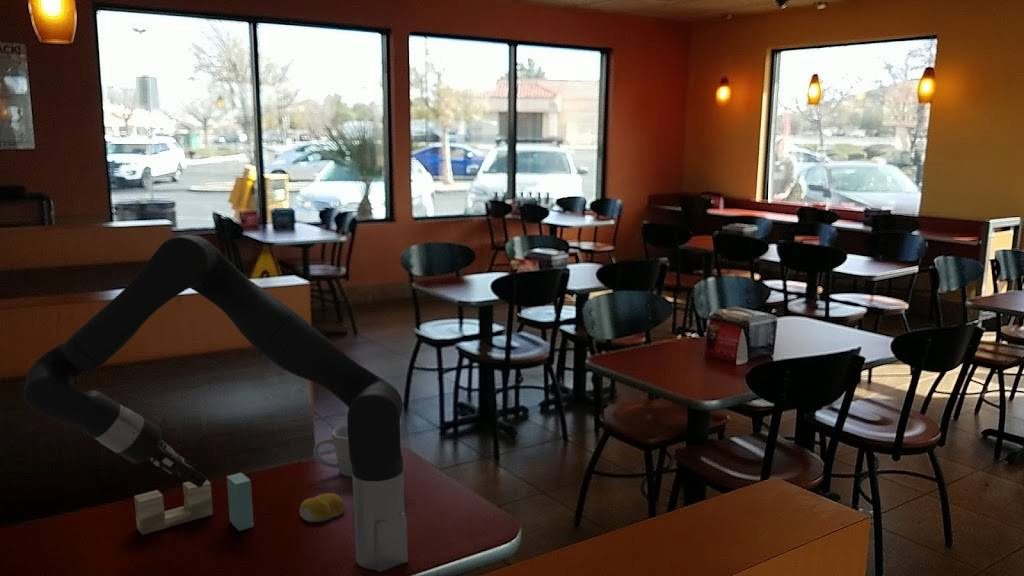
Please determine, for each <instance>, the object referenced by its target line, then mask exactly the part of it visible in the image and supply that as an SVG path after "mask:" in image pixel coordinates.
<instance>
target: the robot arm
mask: <svg viewBox="0 0 1024 576" xmlns="http://www.w3.org/2000/svg"><path fill="white" fill-rule="evenodd" d="M188 289H191V290H192V291H194V292H196V293H198V294H200V295H201V296H202V297H204V298H205V299H206V300H208V301H209V302H211V303H212V304H213V305H215V306H216V307H218V308H219V309H220V310H221V311H222V312H223V313H224V314H225V315H226V316H227V317H228V318H229V320H230V321H231V322H232V323H233V325H235V327H236V329H238V331H239V332H240V334H241V335H243V337H244V338H245V339H246V340H247V342H249V343H250V344H251V345H252V346H253V348H255V349H256V350H257V351H259V352H260V353H261V354H263V356H265V357H266V358H267V359H268V360H270V361H272V362H273V363H274V364H275V365H277V366H278V367H279V368H281V369H283V370H284V371H286V372H288V373H290V374H293V375H295V376H297V377H300V378H302V379H304V380H306V381H310V382H313V383H314V384H316V385H319V386H321V387H322V388H324V389H326V390H327V391H329V392H330V393H331V394H333V395H334V396H336V397H337V398H338V399H339V400H340V401H341V402H342V403H343V404H344V405H346V407H347V408H348V410H347V417H346V418H347V420H346V421H347V422H346V423H347V424H346V425H347V426H348V443H349V457H350V462H351V464H352V476H353V477H352V495H353V496H352V497H353V498H352V499H353V500H352V501H353V519H354V520H353V523H354V542H355V545H354V546H355V560H356V563H357V565H358V566H360V567H362V568H364V569H366V570H373V571H376V572H378V573H382V572H385V571H387V570H390V569H393V568H394V567H397V566H400V565H402V564H406V563H407V562H408V559H409V558H408V555H409V554H408V529H407V523H408V521H407V514H406V513H405V493H404V492H405V491H404V489H405V488H404V487H405V486H404V456H403V455H402V450H401V446H402V445H401V444H402V443H401V417H402V414H403V410H404V409H403V407H404V404H403V400H402V399H403V398H402V397H401V394H400V392H399V391H398V390H397V389H396V387H394V386H393V385H392V384H391V383H390V382H388V381H386V380H384V379H383V378H381V376H378V375H377V374H375V373H373V372H371V371H370V370H369V369H367V368H365V367H363V365H361V364H359V363H358V362H357V361H355V360H354V359H353V358H351V357H350V356H348V355H347V354H346V353H345V352H343V350H341V348H339V347H338V346H337V345H336V344H335V343H333V342H332V341H331V340H330V339H328V338H327V337H326V336H325V335H324V334H323V333H321V332H320V331H319V330H317V329H316V328H315V327H314V326H313V325H312V324H311V323H310V322H309V321H307V320H306V319H305V318H303V317H302V316H301V315H300V314H299V313H297V312H295V310H293V309H292V308H291V307H289V306H287V305H286V304H285V303H284V302H282V301H281V300H279V299H278V298H276V296H274V295H273V294H271V293H270V292H268V291H267V290H265V289H264V288H262V287H261V286H260V285H258V284H256V283H255V282H253V281H252V280H251V279H249V277H247V276H246V275H244V273H242V272H241V271H240V270H239V269H238V268H237V267H236V266H235V265H234V263H233V264H232V262H231V261H230V260H229V259H228V258H226V257H225V256H224V254H223V253H221V252H220V250H218V248H217V247H215V245H214V244H212V242H210V241H208V239H207V238H204V237H202V236H200V235H194V234H180V235H176V236H171V237H170V238H168V239H166V240H164V241H163V242H162V243H161V244H160V246H159V247H158V248H157V250H156V251H155V252H154V254H153V255H152V256H151V257H150V259H149V260H148V261H147V262H146V264H145V265H144V266H143V267H142V269H140V271H139V272H138V273H137V275H136V276H135V277H134V278H133V279H132V281H130V283H128V285H127V286H125V287H124V288H123V290H122V291H120V292H119V294H118V295H116V296H115V297H114V298H112V300H111V301H109V302H108V303H107V304H106V305H105V306H104V307H103V308H101V309H100V310H99V311H98V312H97V313H96V314H94V315H93V316H92V317H91V318H90V319H88V320H87V322H85V323H84V324H83V325H82V326H80V328H78V329H77V330H76V331H75V332H74V333H73V334H71V336H70V337H69V338H68V339H67V340H66V341H64V342H62V343H60V344H58V345H57V346H55V347H54V348H51V350H49V351H47V352H46V353H44V354H43V355H41V356H40V357H39V358H38V359H37V360H36V361H34V363H33V364H32V365H31V366H30V367H29V369H28V370H27V372H26V377H25V384H24V388H23V398H24V401H25V403H26V404H27V406H28V407H30V408H31V409H32V410H33V411H34V412H36V413H37V414H39V415H41V416H42V417H46V418H49V419H51V420H54V421H58V422H61V423H64V424H67V425H71V426H74V427H76V428H77V429H79V430H80V431H82V432H84V433H86V434H87V435H89V436H90V437H92V438H93V439H95V440H96V441H98V442H99V443H100V444H101V445H103V446H104V447H106V448H108V449H109V450H111V451H113V452H114V453H116V454H118V455H119V456H121V457H123V458H125V459H126V460H128V461H130V462H131V463H133V464H139V463H142V462H143V461H145V460H146V459H148V460H149V461H150V462H151V464H154V465H155V466H156V467H160V468H161V469H163V470H164V471H165V472H167V473H168V474H170V475H174V476H175V477H177V478H179V479H180V480H181V481H184V482H186V481H187V482H191V483H192V484H194V485H196V486H197V487H201V486H202V485H203V484H204V483H205V481H206V480H208V479H207V476H206V475H204V474H202V473H201V472H199V471H197V470H196V469H194V468H193V464H192V463H191V462H190V461H188V460H187V459H185V458H184V457H182V456H181V455H179V454H178V453H177V452H176V451H175V450H174V449H173V448H172V447H171V446H170V445H169V444H167V443H166V442H164V441H163V440H161V439H162V435H163V433H162V429H161V428H160V427H159V426H158V425H156V424H154V423H152V422H151V421H149V420H148V419H146V418H145V417H143V416H141V415H140V414H139V413H137V412H135V411H134V410H132V409H130V408H128V407H126V406H123V405H122V404H120V403H118V402H117V401H115V400H114V399H112V398H110V397H109V396H107V395H106V394H104V393H103V392H100V391H98V390H88V391H86V392H84V391H82V390H79V389H78V388H75V387H74V386H73V382H74V381H75V380H76V379H77V378H78V377H79V376H80V375H82V374H83V373H92V372H94V371H96V370H98V369H99V368H101V367H102V366H103V365H104V364H105V363H106V362H107V361H109V360H110V359H111V358H112V357H113V356H114V355H115V354H117V353H118V352H119V350H121V349H122V348H123V347H124V346H125V345H126V344H127V343H128V342H130V340H131V339H132V338H133V337H134V335H135V334H136V333H137V332H138V331H139V329H140V328H141V327H142V326H143V325H144V324H145V322H147V320H149V318H150V317H151V316H152V315H153V314H154V313H155V312H157V311H158V310H159V309H160V308H161V307H163V306H164V305H165V304H166V303H168V302H169V301H170V300H172V299H174V298H175V297H177V296H179V295H180V294H181V293H183V292H185V291H187V290H188Z"/></svg>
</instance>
